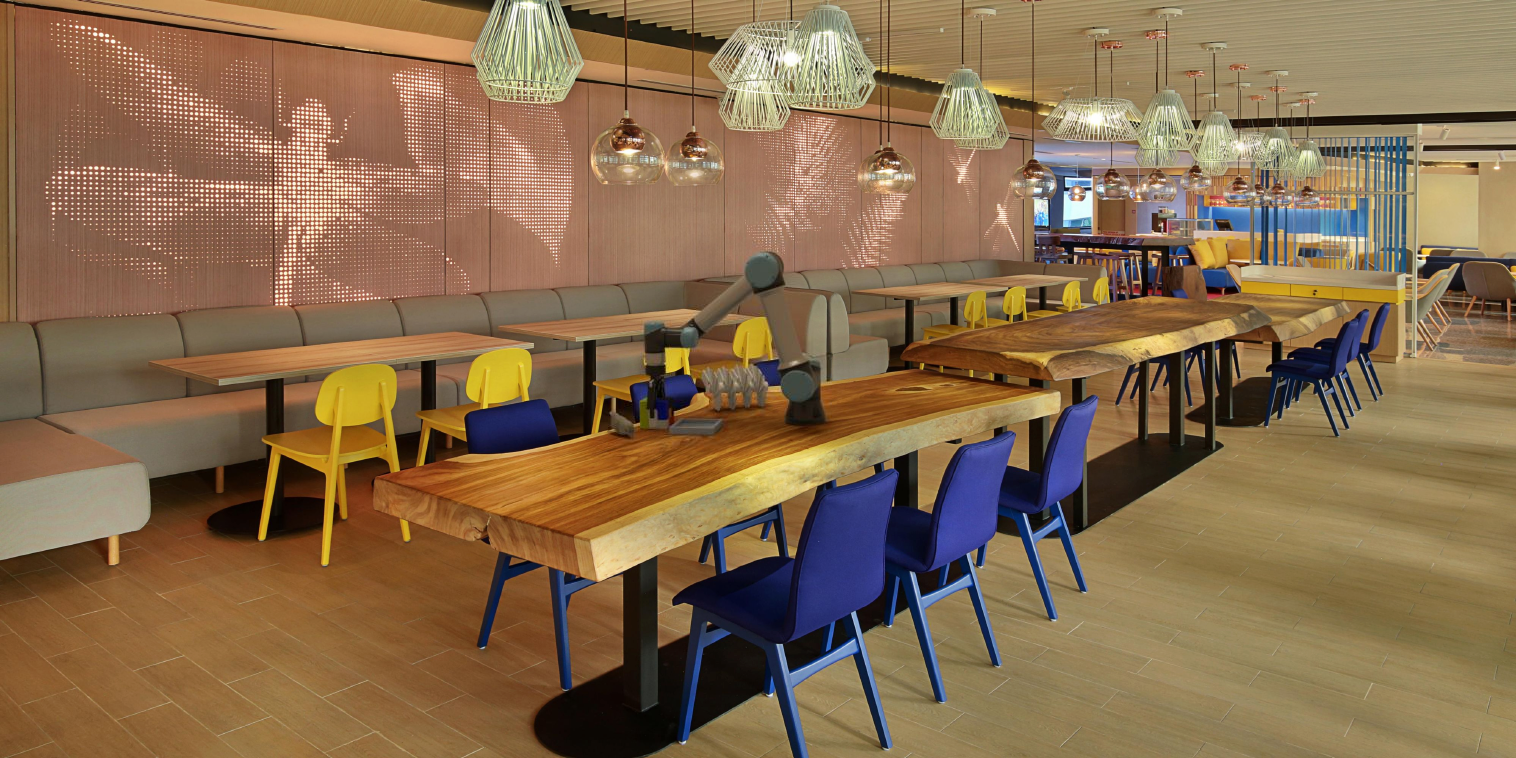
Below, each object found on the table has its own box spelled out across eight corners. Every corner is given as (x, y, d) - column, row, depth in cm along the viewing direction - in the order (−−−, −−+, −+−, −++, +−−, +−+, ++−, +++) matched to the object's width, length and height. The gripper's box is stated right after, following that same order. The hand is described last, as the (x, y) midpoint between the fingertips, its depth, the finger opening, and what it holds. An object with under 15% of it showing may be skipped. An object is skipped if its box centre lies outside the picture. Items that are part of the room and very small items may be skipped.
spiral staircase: (769, 417, 409) (710, 420, 400) (755, 392, 422) (697, 394, 413) (778, 379, 399) (717, 381, 390) (764, 355, 413) (704, 356, 404)
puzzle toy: (666, 429, 372) (665, 402, 371) (640, 428, 374) (639, 401, 373) (674, 423, 382) (673, 397, 380) (648, 422, 384) (647, 396, 382)
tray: (723, 425, 377) (722, 419, 376) (713, 435, 361) (713, 428, 361) (680, 424, 380) (680, 418, 379) (669, 434, 364) (668, 427, 364)
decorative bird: (625, 440, 357) (624, 418, 355) (605, 432, 370) (604, 411, 369) (639, 438, 360) (638, 417, 358) (618, 430, 373) (618, 410, 372)
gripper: (654, 359, 386) (656, 417, 390) (636, 368, 364) (638, 430, 368) (673, 359, 385) (675, 417, 388) (656, 368, 363) (658, 430, 366)
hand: (657, 423), depth 378 cm, fingers closed on puzzle toy, 10 cm apart
